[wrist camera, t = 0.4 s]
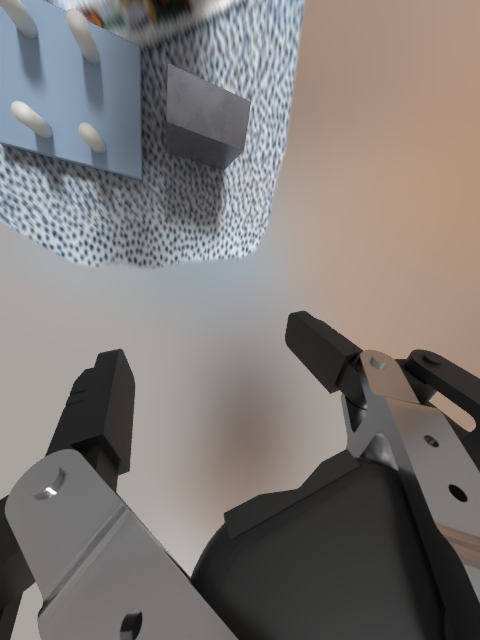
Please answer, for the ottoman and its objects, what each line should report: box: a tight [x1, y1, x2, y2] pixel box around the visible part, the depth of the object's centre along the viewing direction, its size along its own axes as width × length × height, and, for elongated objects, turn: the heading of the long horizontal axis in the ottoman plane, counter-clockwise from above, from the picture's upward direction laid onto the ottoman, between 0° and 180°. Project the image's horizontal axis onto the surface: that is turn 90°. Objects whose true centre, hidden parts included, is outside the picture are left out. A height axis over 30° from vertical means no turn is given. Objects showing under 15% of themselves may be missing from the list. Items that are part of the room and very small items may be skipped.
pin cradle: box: [0, 0, 143, 181], centre depth 20 cm, size 12×14×5 cm
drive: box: [166, 63, 251, 170], centre depth 23 cm, size 4×8×9 cm, turn 79°
